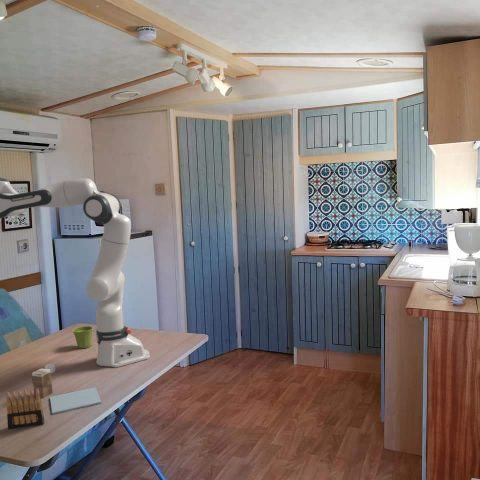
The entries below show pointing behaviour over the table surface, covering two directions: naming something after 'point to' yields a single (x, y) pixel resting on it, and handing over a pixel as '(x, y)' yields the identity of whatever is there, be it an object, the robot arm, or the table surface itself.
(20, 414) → the ammunition clip
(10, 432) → the table surface
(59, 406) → the blue-grey mat
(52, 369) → the game pieces
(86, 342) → the plant pot
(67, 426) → the table surface
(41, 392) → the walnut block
